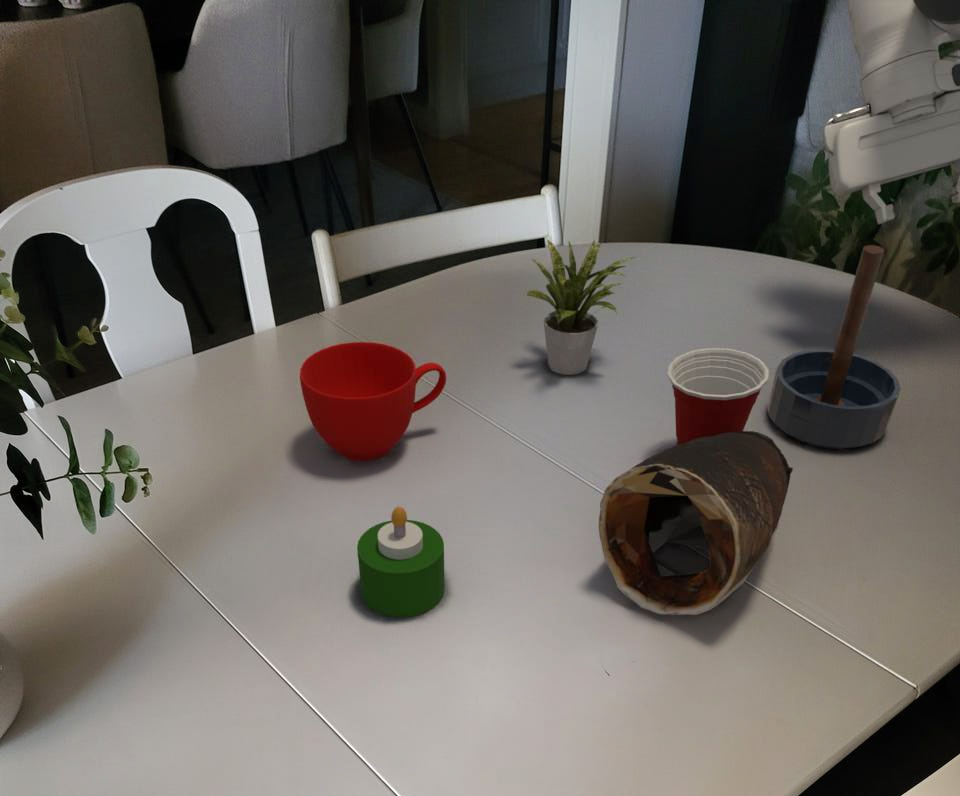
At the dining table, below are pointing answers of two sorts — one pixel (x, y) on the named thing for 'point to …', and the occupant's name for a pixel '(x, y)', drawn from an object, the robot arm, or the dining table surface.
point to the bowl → (826, 424)
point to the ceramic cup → (363, 396)
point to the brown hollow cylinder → (694, 518)
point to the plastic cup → (714, 391)
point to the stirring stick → (851, 324)
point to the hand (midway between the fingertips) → (923, 211)
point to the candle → (401, 566)
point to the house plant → (573, 309)
